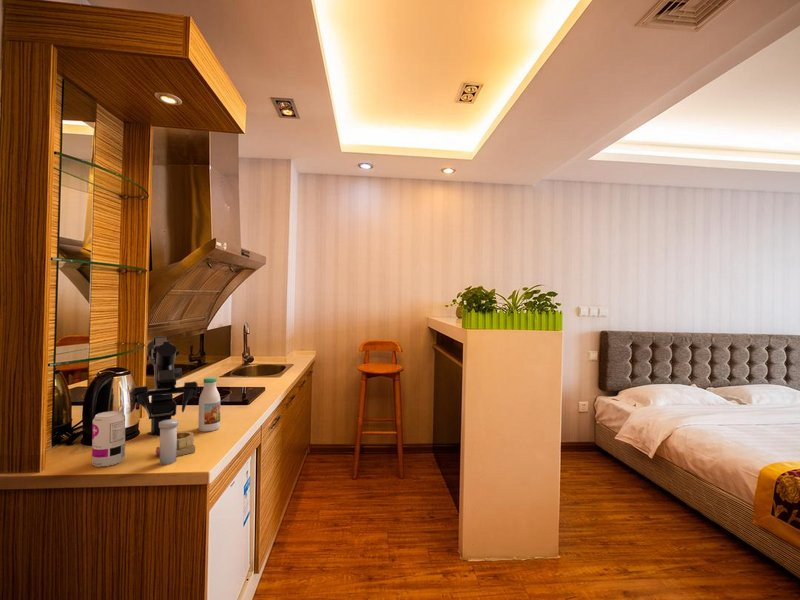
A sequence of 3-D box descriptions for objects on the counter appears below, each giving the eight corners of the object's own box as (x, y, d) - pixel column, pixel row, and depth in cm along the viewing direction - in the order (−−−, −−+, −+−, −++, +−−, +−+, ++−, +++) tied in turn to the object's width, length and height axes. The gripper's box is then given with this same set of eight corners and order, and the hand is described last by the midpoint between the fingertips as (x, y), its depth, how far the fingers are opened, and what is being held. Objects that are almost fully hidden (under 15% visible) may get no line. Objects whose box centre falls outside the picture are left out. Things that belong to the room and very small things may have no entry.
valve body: (151, 449, 135) (151, 433, 135) (185, 442, 142) (185, 427, 142) (160, 461, 125) (160, 444, 125) (197, 452, 132) (197, 436, 132)
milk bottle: (195, 432, 151) (196, 380, 151) (201, 426, 159) (202, 376, 159) (217, 431, 153) (218, 379, 153) (222, 425, 160) (222, 375, 160)
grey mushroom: (154, 464, 122) (154, 423, 122) (168, 457, 127) (168, 418, 127) (167, 466, 120) (168, 424, 120) (181, 459, 125) (182, 420, 125)
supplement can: (91, 470, 117) (92, 419, 117) (92, 461, 124) (93, 412, 124) (125, 463, 122) (125, 414, 122) (124, 455, 128) (124, 408, 128)
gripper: (133, 362, 129) (132, 403, 120) (197, 358, 139) (201, 396, 130) (132, 382, 135) (132, 423, 126) (194, 377, 146) (197, 414, 137)
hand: (167, 413), depth 130 cm, fingers open, 9 cm apart
